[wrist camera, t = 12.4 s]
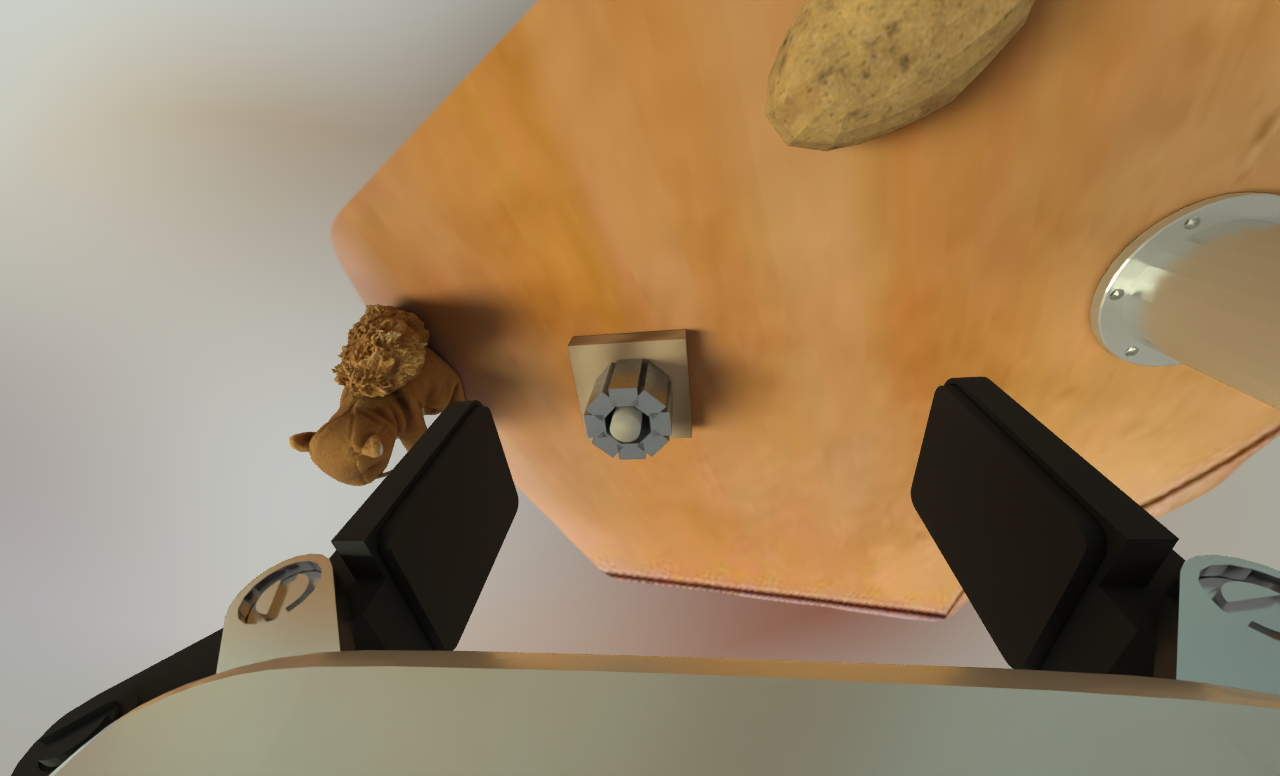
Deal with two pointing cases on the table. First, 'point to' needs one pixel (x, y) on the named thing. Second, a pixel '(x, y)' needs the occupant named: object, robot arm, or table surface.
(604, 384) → the hub
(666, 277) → the table surface
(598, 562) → the table surface
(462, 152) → the table surface
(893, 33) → the potato
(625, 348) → the shaft stand
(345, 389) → the stuffed squirrel
